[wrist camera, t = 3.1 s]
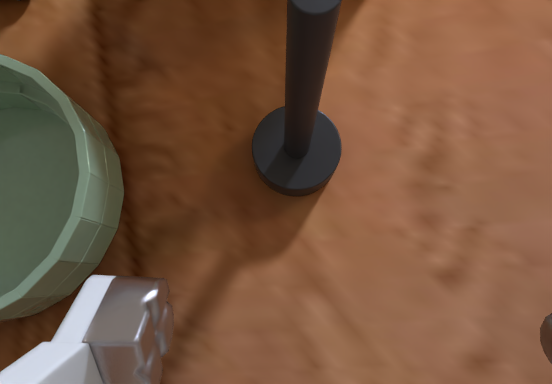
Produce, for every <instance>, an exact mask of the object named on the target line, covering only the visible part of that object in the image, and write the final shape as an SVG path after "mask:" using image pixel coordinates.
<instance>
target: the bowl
mask: <svg viewBox="0 0 552 384" xmlns="http://www.w3.org/2000/svg"><path fill="white" fill-rule="evenodd" d="M123 197H124V187H123V180H122V173H121V166H120V159H119V156H118V154H117V152H116V150H115V148H114V146H113V144H112V142H111V140H110V139H109V137H108V135H107V133H106V131H105V129H104V128H103V126H102V125H101V124H99V123H98V122H97V121H96V120H95V119H94V118H93V117H92V116H91V115H90V114H88V113H87V112H86V111H85V110H84V109H83V108H82V107H81V106H80V105H79V104H77V103H76V102H75V101H74V100H73V99H72V98H70V97H69V96H68V95H67V94H66V93H65V92H63V91H62V90H61V89H60V88H59V87H58V86H57V85H55V84H54V83H53V82H52V81H51V80H50V79H48V78H47V77H46V76H45V75H44V74H43V73H41V72H40V71H39V70H38V69H35V68H33V67H31V66H28V65H26V64H23V63H21V62H19V61H16V60H14V59H11V58H9V57H7V56H4V55H1V54H0V323H1V322H5V321H10V320H14V319H19V318H23V317H28V316H32V315H36V314H37V313H39V312H41V311H43V310H44V309H46V308H48V307H50V306H51V305H53V304H55V303H57V302H58V301H60V300H62V299H64V298H65V297H67V296H69V295H70V294H71V293H72V292H73V291H74V290H75V289H76V288H77V287H78V286H79V285H80V284H81V283H82V282H83V281H84V280H85V279H86V278H87V277H88V276H89V275H90V274H91V273H92V271H93V270H94V269H95V268H96V267H97V266H98V265H99V264H100V262H101V260H102V258H103V256H104V254H105V252H106V250H107V248H108V247H109V245H110V243H111V241H112V239H113V237H114V235H115V233H116V231H117V229H118V225H119V219H120V214H121V208H122V203H123Z"/></svg>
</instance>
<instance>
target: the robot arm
mask: <svg viewBox="0 0 552 384" xmlns="http://www.w3.org/2000/svg"><path fill="white" fill-rule="evenodd" d="M168 294H169V286H168V282H167V279H164V278H151V277H133V276H106V275H92V276H91V277H89V278H88V279H87V280H86V281H85V283H84V285H83V286H82V288H81V290H80V292H79V293H78V295H77V297H76V299H75V300H74V302H73V304H72V305H71V307H70V309H69V311H68V312H67V314H66V316H65V318H64V319H63V321H62V323H61V325H60V326H59V328H58V330H57V332H56V333H55V335H54V337H53V339H52V340H51V342H42V343H40V344H39V345H38V346H36V347H35V348H33V349H32V350H31V351H29V352H28V353H26V354H25V355H23V356H22V357H21V358H19V359H18V360H16V361H15V362H14V363H12V364H11V365H9V366H8V367H7V368H5V369H4V370H2V371H1V372H0V384H159V383H160V380H161V376H162V373H163V368H162V363H161V357H163V356H164V355H165V354H166V353H167V352H168V351H169V348H170V344H171V340H172V334H173V326H174V314H173V308H172V305H171V304H170V303H168V302H167V298H168ZM540 341H541V345H542V348H543V351H544V353H545V354H546V356H547V358H548V360H549V361H550V363H551V364H552V313H551V314H550V315H548V316H547V317H545V319H544V321H543V323H542V325H541V327H540Z"/></svg>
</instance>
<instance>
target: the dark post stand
mask: <svg viewBox="0 0 552 384" xmlns="http://www.w3.org/2000/svg"><path fill="white" fill-rule="evenodd" d="M341 1H342V0H287V35H286V77H285V106H284V107H281V108H278V109H276V110H274V111H272V112H271V113H269V114H268V115H267V116H266V117H265V118H264V119H263V120H262V121H261V122H260V124H259V125H258V127H257V128H256V131H255V133H254V136H253V141H252V153H253V159H254V163H255V167H256V170H257V172H258V174H259V176H260V177H261V179H262V180H263V181H264V183H265V184H267V185H268V186H269V187H270V188H271V189H273V190H275V191H277V192H279V193H281V194H284V195H289V196H303V195H307V194H311V193H313V192H315V191H317V190H319V189H320V188H322V187H323V186H324V185H325V184H326V183H327V182H328V181H329V180H330V178H331V177H332V175H333V173H334V171H335V169H336V167H337V165H338V163H339V160H340V156H341V139H340V135H339V133H338V130H337V128H336V126H335V125H334V123H333V122H332V121H331V120H330V119H329V118H328V117H327V116H326V115H325V114H324V113H322V112H321V111H319V110H318V106H319V102H320V97H321V93H322V88H323V84H324V79H325V74H326V70H327V65H328V61H329V56H330V51H331V47H332V42H333V38H334V33H335V29H336V24H337V19H338V15H339V10H340V6H341Z"/></svg>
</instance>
